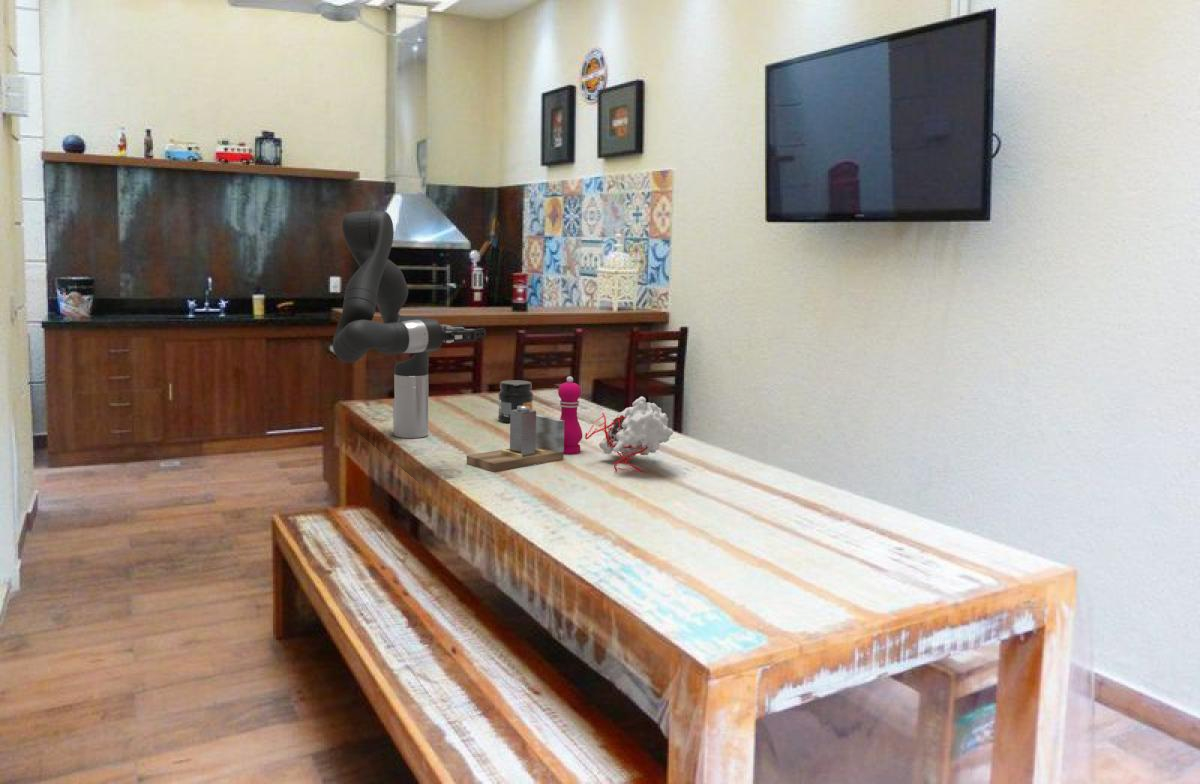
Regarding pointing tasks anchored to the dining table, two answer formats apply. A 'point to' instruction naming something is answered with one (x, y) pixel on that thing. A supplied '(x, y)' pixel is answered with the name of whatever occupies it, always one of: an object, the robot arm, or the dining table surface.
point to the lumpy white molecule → (635, 431)
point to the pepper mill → (570, 415)
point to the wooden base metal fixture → (546, 451)
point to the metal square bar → (523, 431)
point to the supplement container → (514, 397)
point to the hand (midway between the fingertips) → (474, 331)
